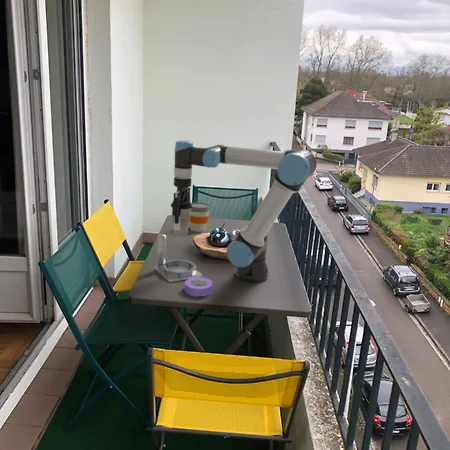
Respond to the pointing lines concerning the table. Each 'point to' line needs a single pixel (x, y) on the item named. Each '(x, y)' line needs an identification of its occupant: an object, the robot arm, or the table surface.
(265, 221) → the robot arm
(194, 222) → the reusable coffee cup
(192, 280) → the masking tape
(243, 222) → the table surface
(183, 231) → the coffee cup
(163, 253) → the ring base with post
